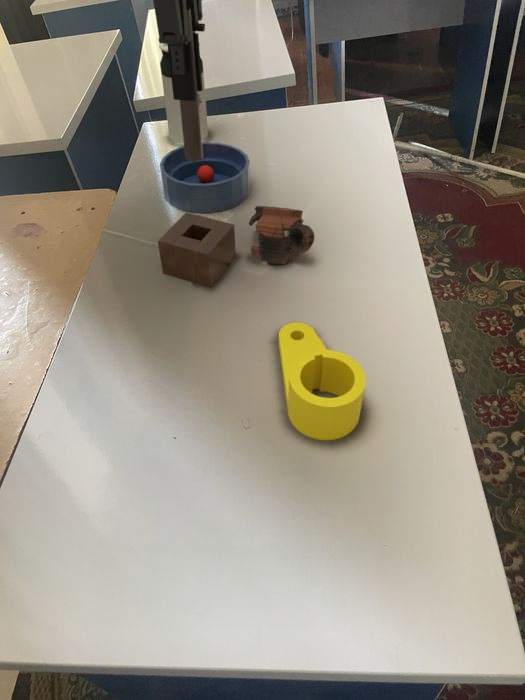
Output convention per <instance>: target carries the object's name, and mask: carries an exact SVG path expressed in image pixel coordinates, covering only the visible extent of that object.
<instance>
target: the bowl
mask: <svg viewBox="0 0 525 700" xmlns="http://www.w3.org/2000/svg"><path fill="white" fill-rule="evenodd" d="M202 149H203V158H202V159H201V160H199V161H188V160H187V159H186V157H185V148H184V145H181V146H178V147H177V148H174V149H172V150H171V151H169V152H168V153H166V155H164V156H163V157H162V159H161V160H160V163H159V169H160V175H161V183H162V189H163V195H164V199H165V201H167V203H169V205H170V206H172V207H174V208H176V209H177V210H180V211H184V212H187V213H191V214H214V213H220V212H221V213H222V212H224V211H227V210H230V209H233V208H235V207H237V206H239V205H241V204H243V202H245V200H246V199H247V198H248V197H249V195H250V192H251V191H250V190H251V163H250V162H251V161H250V159H249V157H248V154H246V153H245V152H244V151H243V150H242V149H240V148H238V147H235V146H233V145H230V144H225V143H221V142H211V141H209V142H208V141H206V142H202ZM204 165H207V166H210V167H211V168H212V169H213V171H214V178H213V179H212V181H210V182H208V183H204V182H201V181H200V180H199V178H198V175H197V172H198V169H199V168H200V167H201V166H204Z"/></svg>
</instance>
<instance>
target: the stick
mask: <svg viewBox="0 0 525 700" xmlns="http://www.w3.org/2000/svg"><path fill="white" fill-rule="evenodd" d="M186 10H187V27H188V38H189V40H188V42H192V53H193V64H194V76H195V87H196V100H195V101H188V100H179V102H180V111H181V120H182V130H183V139H184V143H183V146H184V148H185V157H186V159H187V160H188V161H199V160H201V159H202V158H203V149H202V143H203V140H202V137H201V125H200V114H199V102H198V90H197V78H196V66H195V55H194V43H193V31H192V19H191V9H190V7H187V6H186Z"/></svg>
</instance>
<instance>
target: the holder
mask: <svg viewBox="0 0 525 700" xmlns="http://www.w3.org/2000/svg"><path fill="white" fill-rule="evenodd" d="M235 231H236V230H235V224H234V223H229V222H227V221H226V222H225V221H222V220H218V219H214V218H211V217H208V216H207V217H206V216H202V215H198V214H196V213H192V212H188V211H185V213H184V214H182V215H181V217H180V218H178V219H177V221H176V222H174V224H173V225H172V226H171V227H169V229H168V230H167V231H166V232H164V233H163V235H161V236H160V238H159V239H158V240H157V245H158V251H159V256H160V257H159V258H160V263H161V269H162V270H161V271H162V274H163V275H166V276H169V277H173V278H176V279H178V280H179V279H180V280H183V281H186V282H190V283H193V284H195V285H200V286H203V287H207V288H210V289H211V288H212V287H214V285H215V284H216V282H217V281H219V279H220V278H221V277H222V275H223V274H224V273H225V271H226V270H227V268H229V266H230V265H231V264H232V263H230V261H231V260H232V259H233V258H234V257H235V255H236V253H237V252H236V236H235V235H236V234H235Z"/></svg>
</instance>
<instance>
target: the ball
mask: <svg viewBox="0 0 525 700" xmlns="http://www.w3.org/2000/svg"><path fill="white" fill-rule="evenodd" d="M197 175H198V178H199V180H200V181H201V182H204V183H208V182H210V181H212V179H213V178H214V171H213V169H212V168H211V167H210V166H207V165H204V166H201V167H200V168H199V169H198V172H197Z"/></svg>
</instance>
